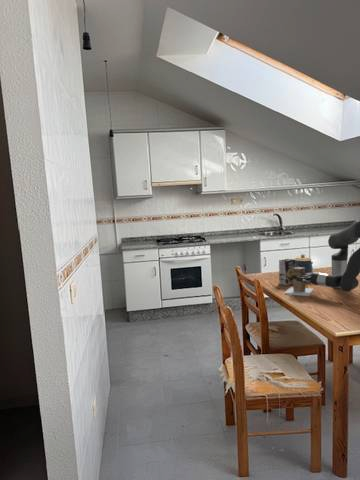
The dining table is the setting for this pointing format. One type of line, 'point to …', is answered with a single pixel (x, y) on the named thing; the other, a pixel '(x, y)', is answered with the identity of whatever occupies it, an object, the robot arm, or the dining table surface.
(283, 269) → the coffee box
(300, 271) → the walnut block
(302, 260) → the canister
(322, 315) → the dining table surface
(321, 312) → the dining table surface
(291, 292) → the pale pad
